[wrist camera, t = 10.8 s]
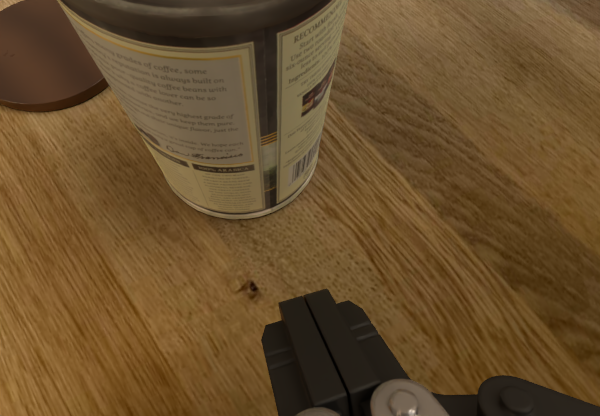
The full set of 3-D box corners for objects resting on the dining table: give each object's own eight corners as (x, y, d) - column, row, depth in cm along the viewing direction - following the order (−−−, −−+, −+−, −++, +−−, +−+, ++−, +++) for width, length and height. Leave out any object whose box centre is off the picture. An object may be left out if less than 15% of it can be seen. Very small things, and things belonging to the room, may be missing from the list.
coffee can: (178, 76, 25) (79, -220, 12) (324, 95, 26) (375, -177, 13) (138, 210, 21) (-74, -20, 8) (310, 231, 22) (365, 38, 9)
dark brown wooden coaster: (48, 137, 23) (41, 130, 22) (-58, 64, 24) (-68, 55, 24) (157, 43, 26) (153, 34, 26) (58, -15, 28) (52, -25, 27)
